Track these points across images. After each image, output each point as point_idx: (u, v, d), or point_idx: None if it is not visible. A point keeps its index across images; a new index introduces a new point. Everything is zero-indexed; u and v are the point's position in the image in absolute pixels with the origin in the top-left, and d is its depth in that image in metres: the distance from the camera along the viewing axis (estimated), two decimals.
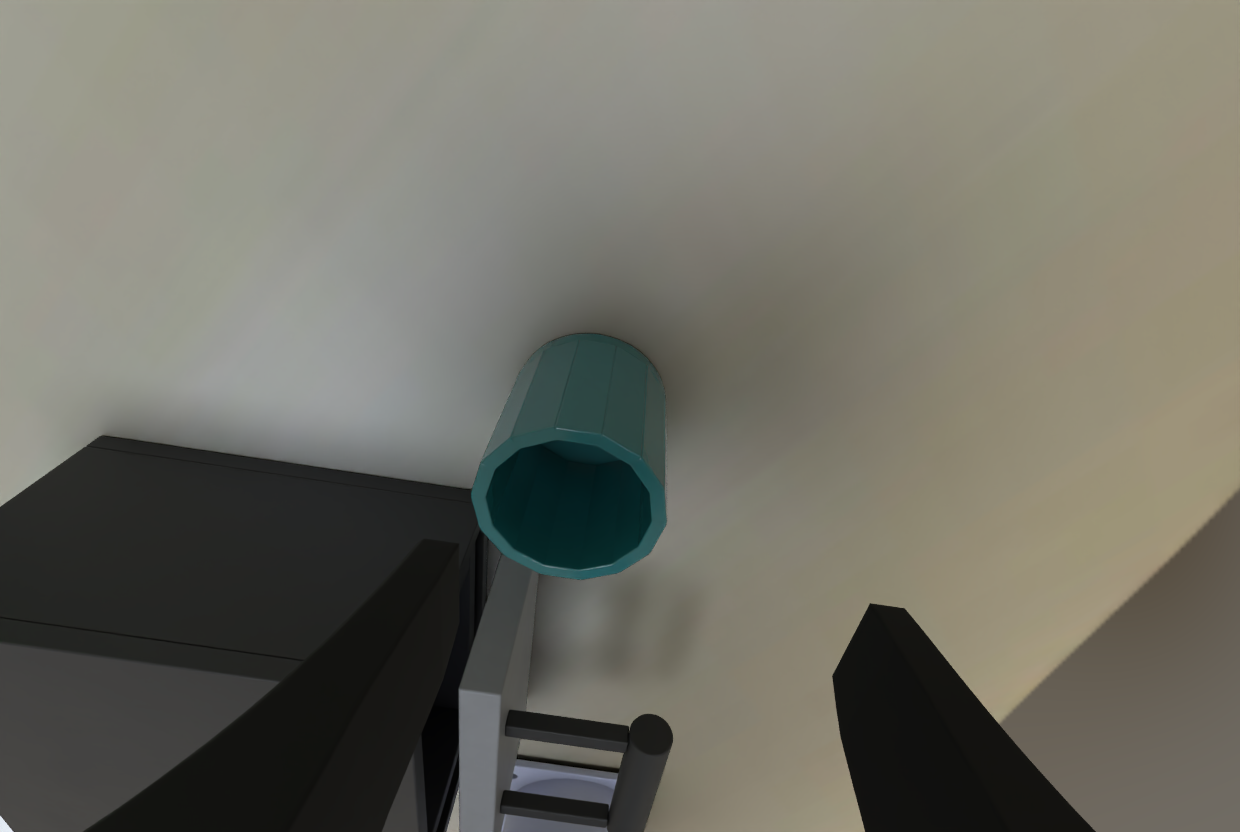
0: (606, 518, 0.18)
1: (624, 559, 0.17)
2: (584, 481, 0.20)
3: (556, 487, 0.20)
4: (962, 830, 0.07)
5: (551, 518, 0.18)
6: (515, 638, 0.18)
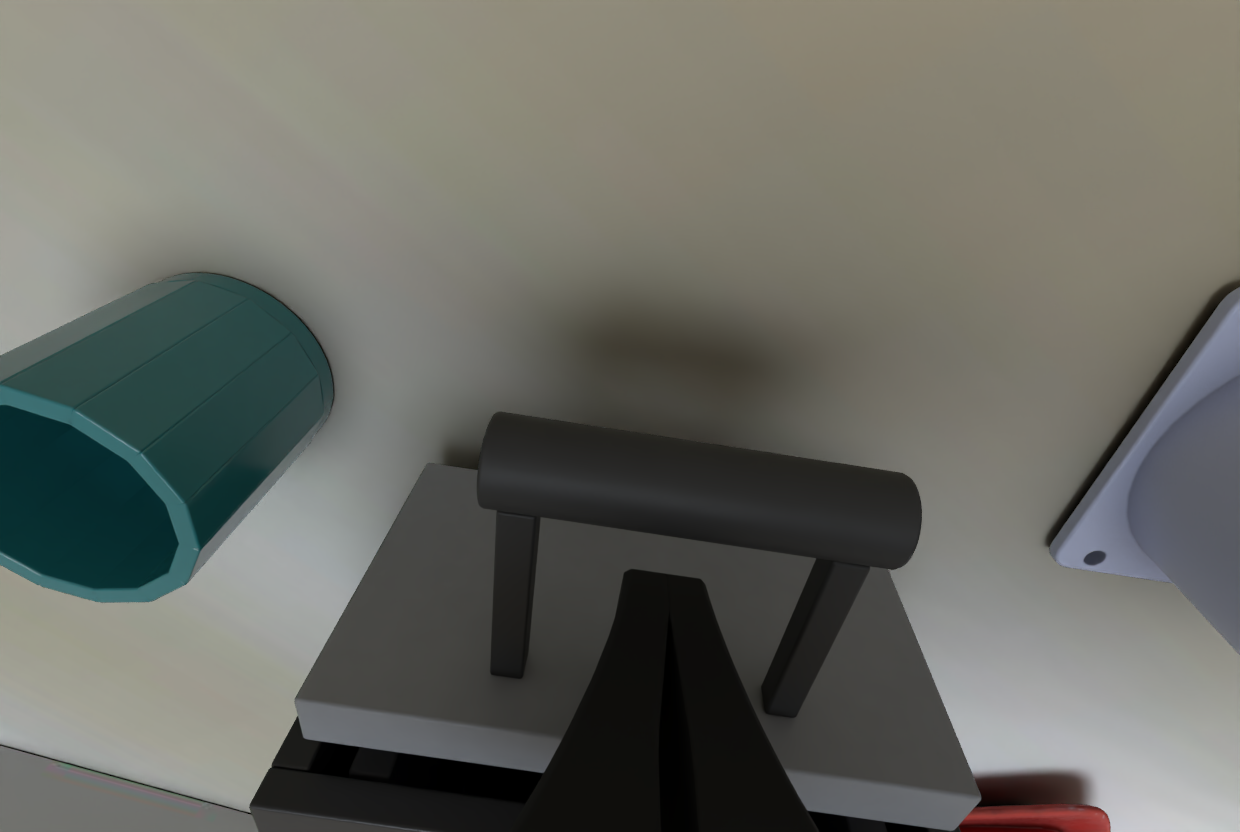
0: None
1: (107, 444, 0.10)
2: None
3: None
4: (680, 791, 0.07)
5: None
6: (348, 608, 0.12)
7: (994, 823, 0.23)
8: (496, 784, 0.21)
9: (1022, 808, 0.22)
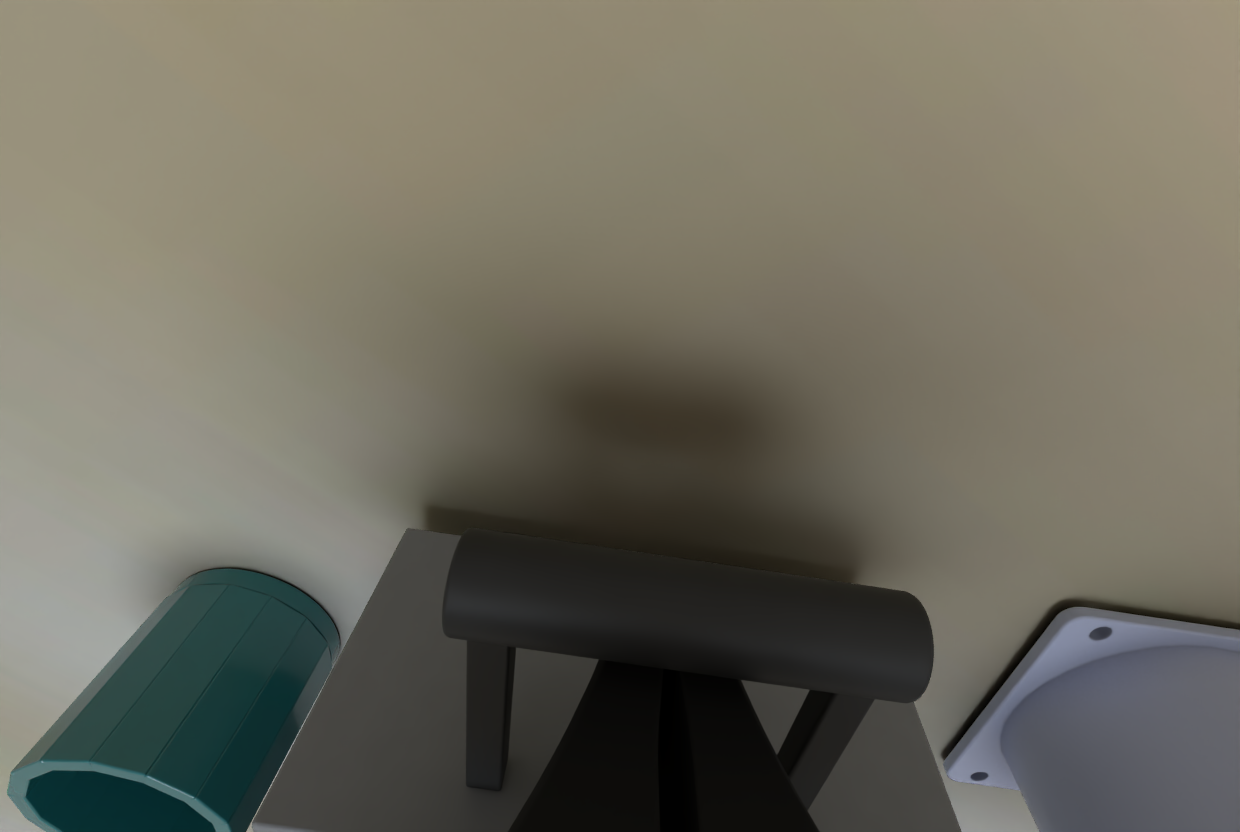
0: None
1: (170, 792, 0.13)
2: None
3: None
4: (680, 791, 0.07)
5: None
6: (316, 707, 0.11)
7: None
8: None
9: None
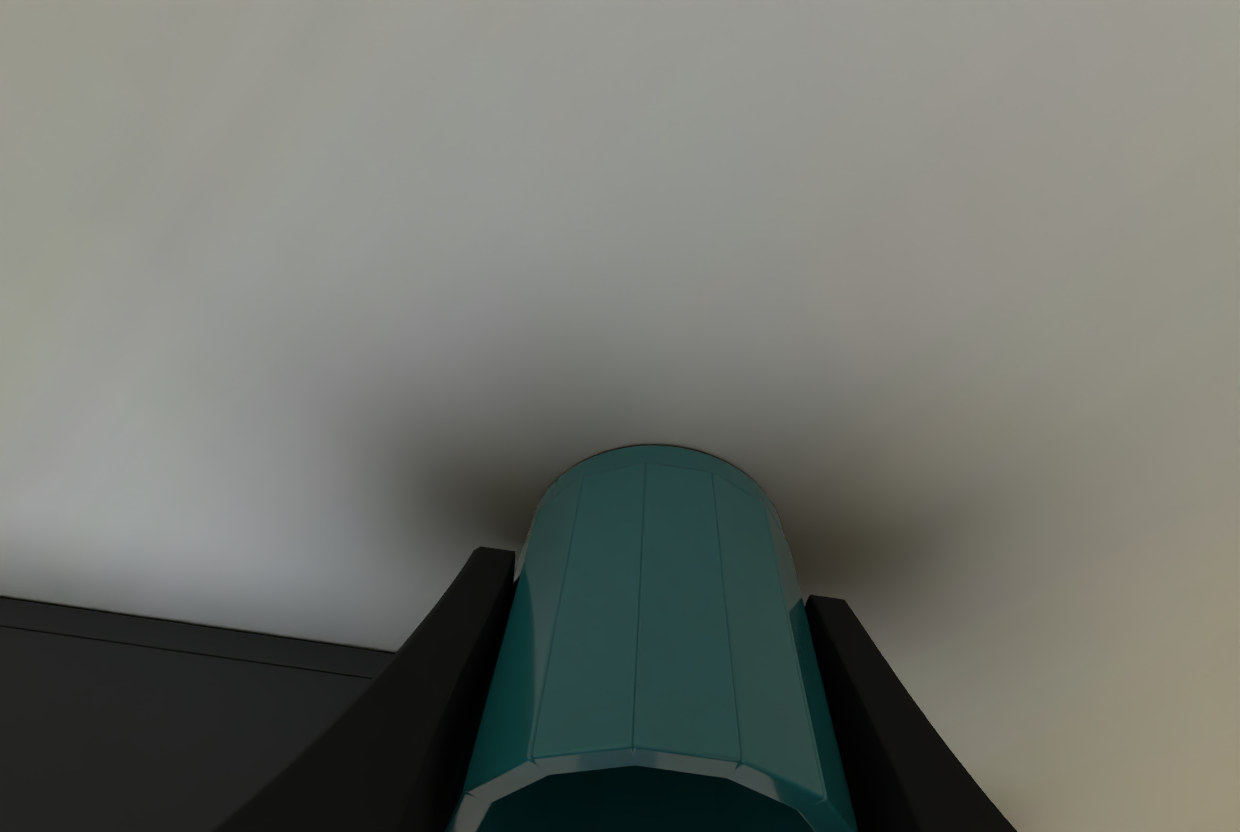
0: (695, 788, 0.10)
1: None
2: None
3: None
4: (879, 818, 0.07)
5: (596, 787, 0.10)
6: None
7: None
8: None
9: None
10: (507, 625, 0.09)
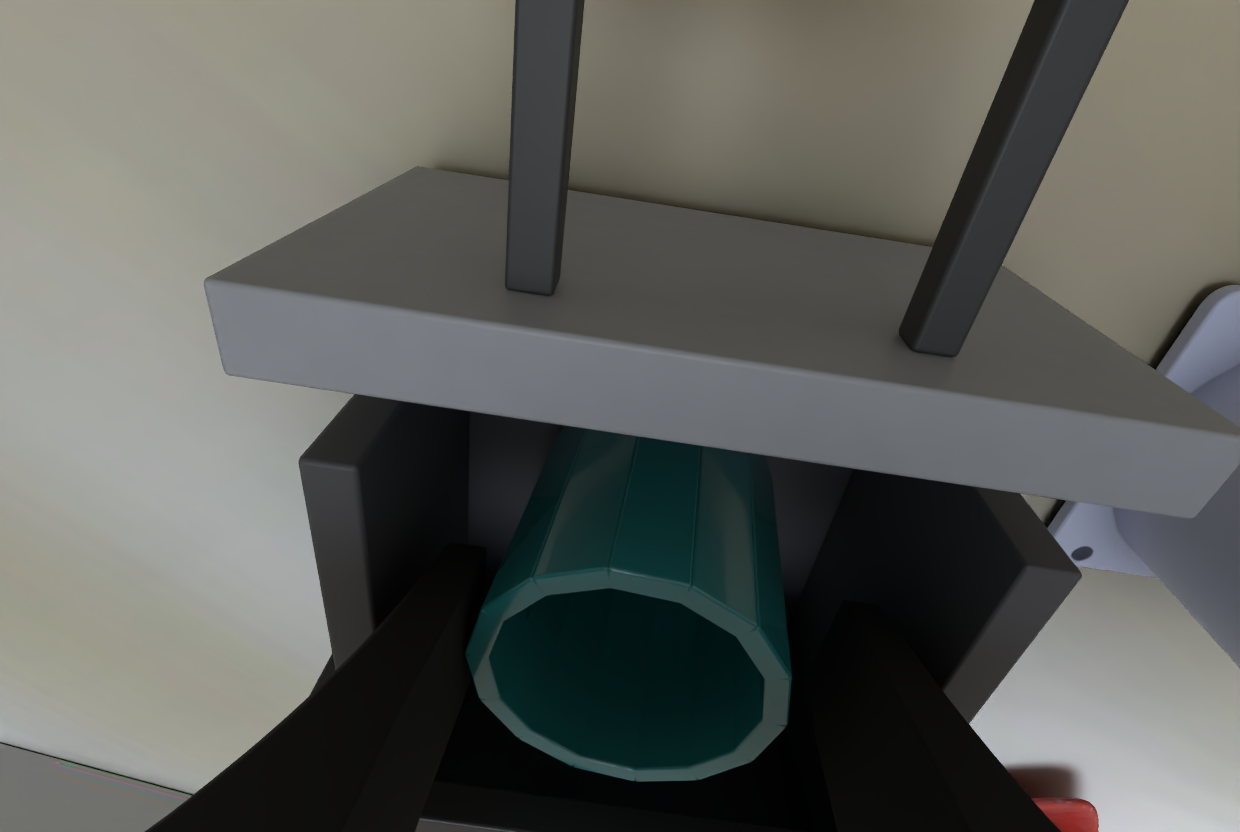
0: (677, 670, 0.12)
1: (709, 764, 0.10)
2: None
3: (603, 605, 0.13)
4: (925, 825, 0.07)
5: (593, 663, 0.12)
6: (299, 231, 0.08)
7: None
8: None
9: None
10: (524, 510, 0.11)
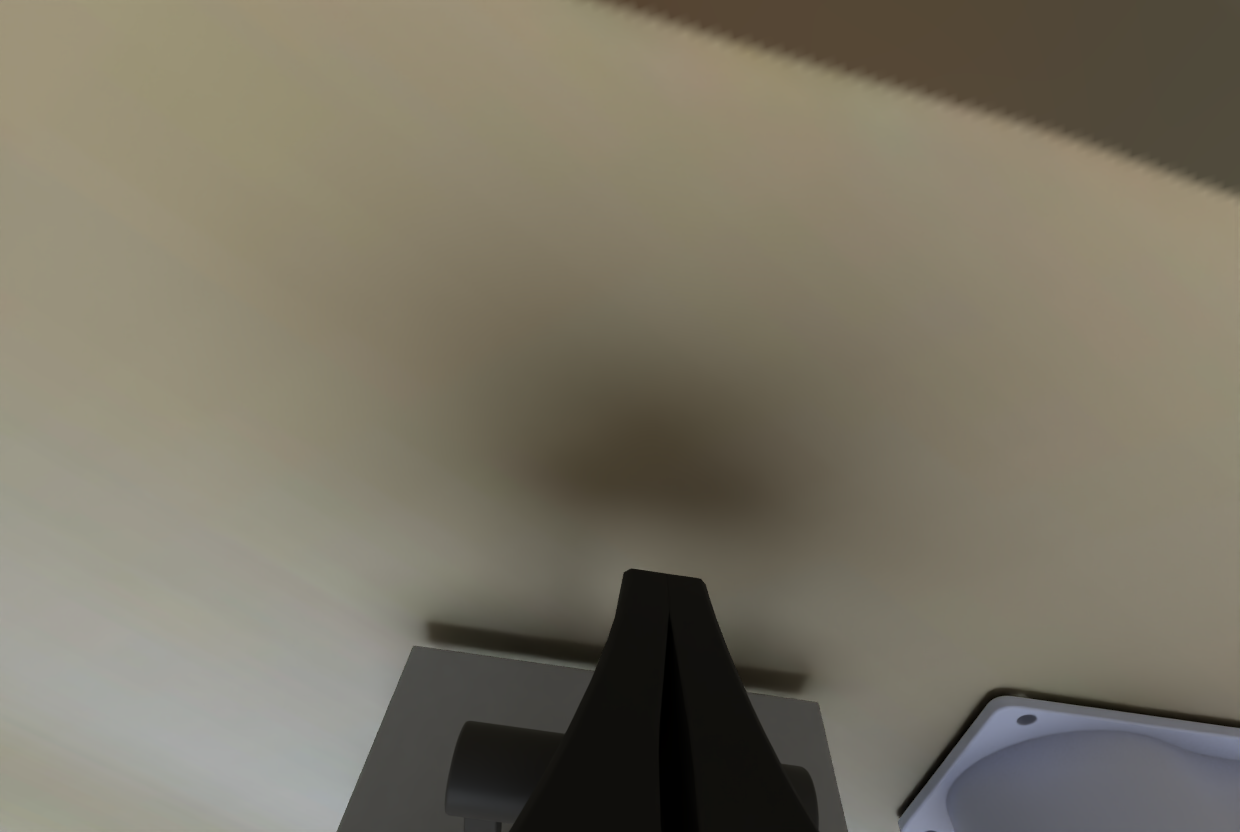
0: None
1: None
2: None
3: None
4: (680, 791, 0.07)
5: None
6: (340, 829, 0.13)
7: None
8: None
9: None
10: None
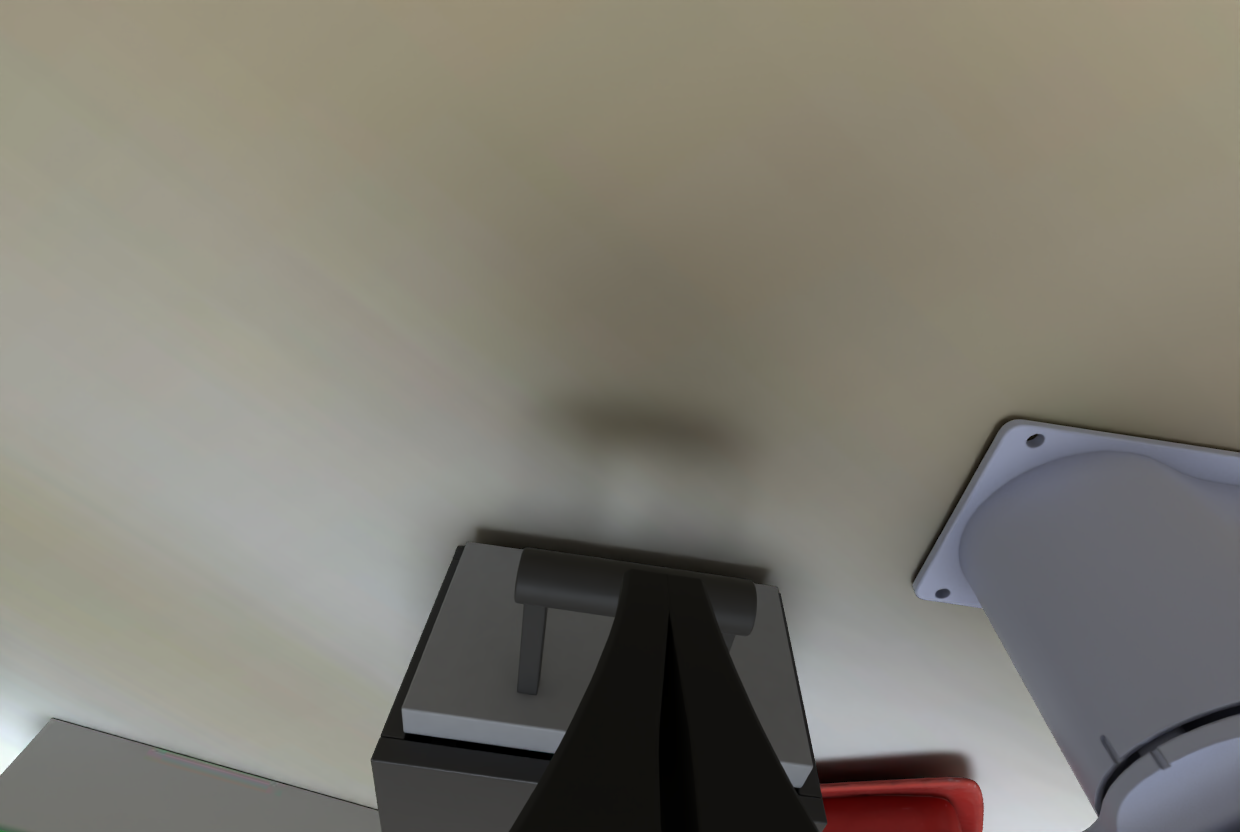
0: None
1: None
2: None
3: None
4: (680, 791, 0.07)
5: None
6: (426, 650, 0.19)
7: (895, 792, 0.29)
8: None
9: (914, 780, 0.28)
10: None
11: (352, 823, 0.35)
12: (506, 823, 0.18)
